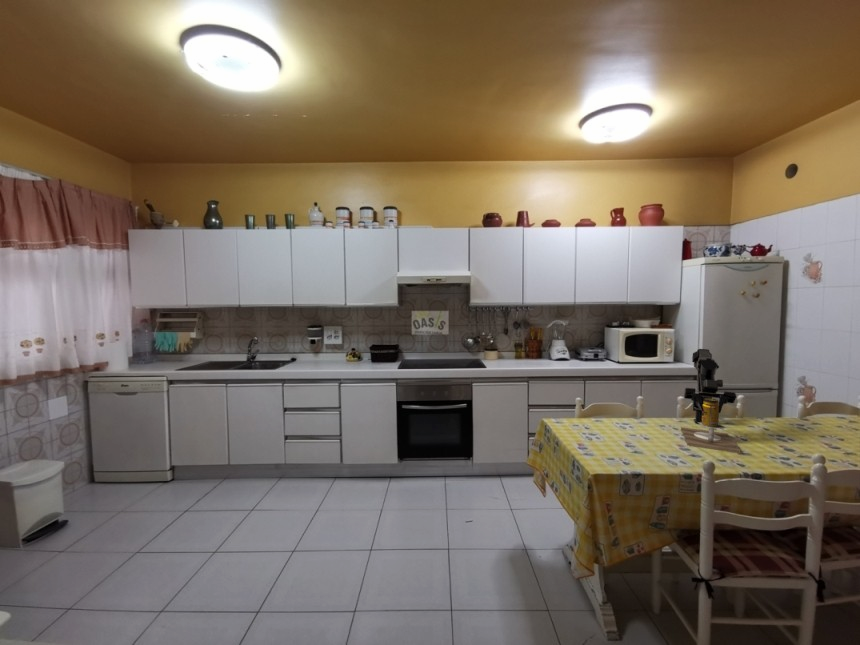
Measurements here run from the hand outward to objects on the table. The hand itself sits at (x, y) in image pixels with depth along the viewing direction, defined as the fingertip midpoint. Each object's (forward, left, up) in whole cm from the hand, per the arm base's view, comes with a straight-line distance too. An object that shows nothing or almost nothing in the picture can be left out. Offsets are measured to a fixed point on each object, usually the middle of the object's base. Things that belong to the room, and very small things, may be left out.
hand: (710, 411), depth 166 cm
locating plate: (+1, -1, -13) cm, 13 cm away
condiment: (-1, +1, -7) cm, 7 cm away
